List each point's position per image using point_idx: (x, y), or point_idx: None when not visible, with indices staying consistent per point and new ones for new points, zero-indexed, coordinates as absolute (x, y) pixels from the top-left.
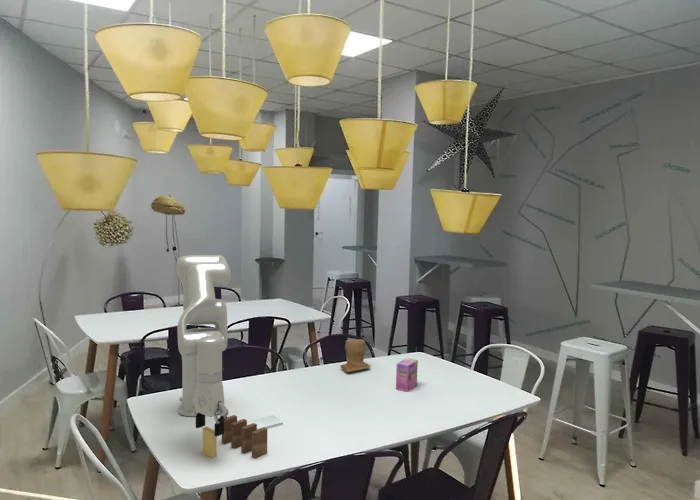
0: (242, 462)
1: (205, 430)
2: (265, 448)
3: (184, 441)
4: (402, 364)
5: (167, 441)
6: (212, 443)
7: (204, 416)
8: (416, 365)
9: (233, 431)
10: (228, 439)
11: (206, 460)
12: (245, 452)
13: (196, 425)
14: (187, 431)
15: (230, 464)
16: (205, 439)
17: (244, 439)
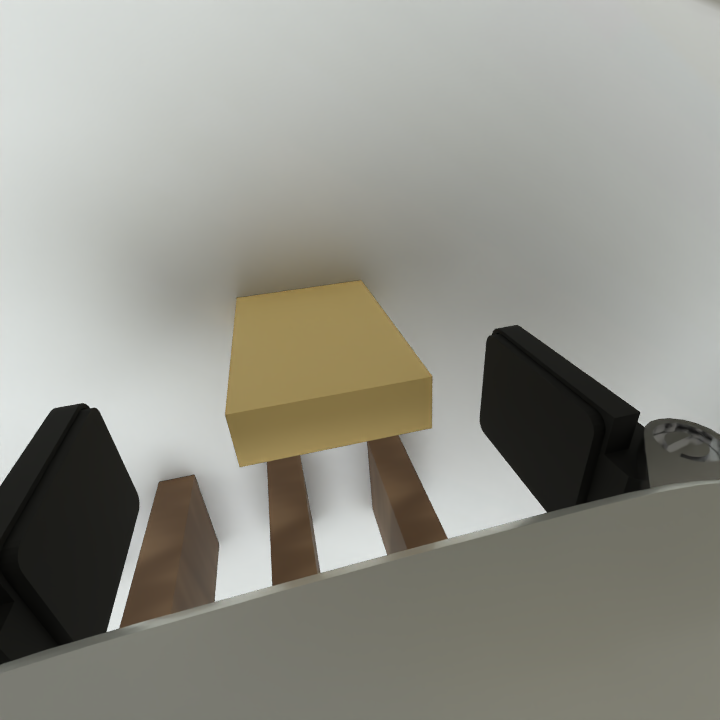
0: (26, 429)
1: (369, 382)
2: None
3: (601, 265)
4: None
5: (703, 170)
6: (232, 351)
7: (547, 500)
8: None
9: (284, 558)
10: (374, 477)
11: (222, 243)
12: (159, 492)
13: (515, 340)
14: (681, 342)
15: (38, 354)
16: (347, 334)
17: (137, 569)
